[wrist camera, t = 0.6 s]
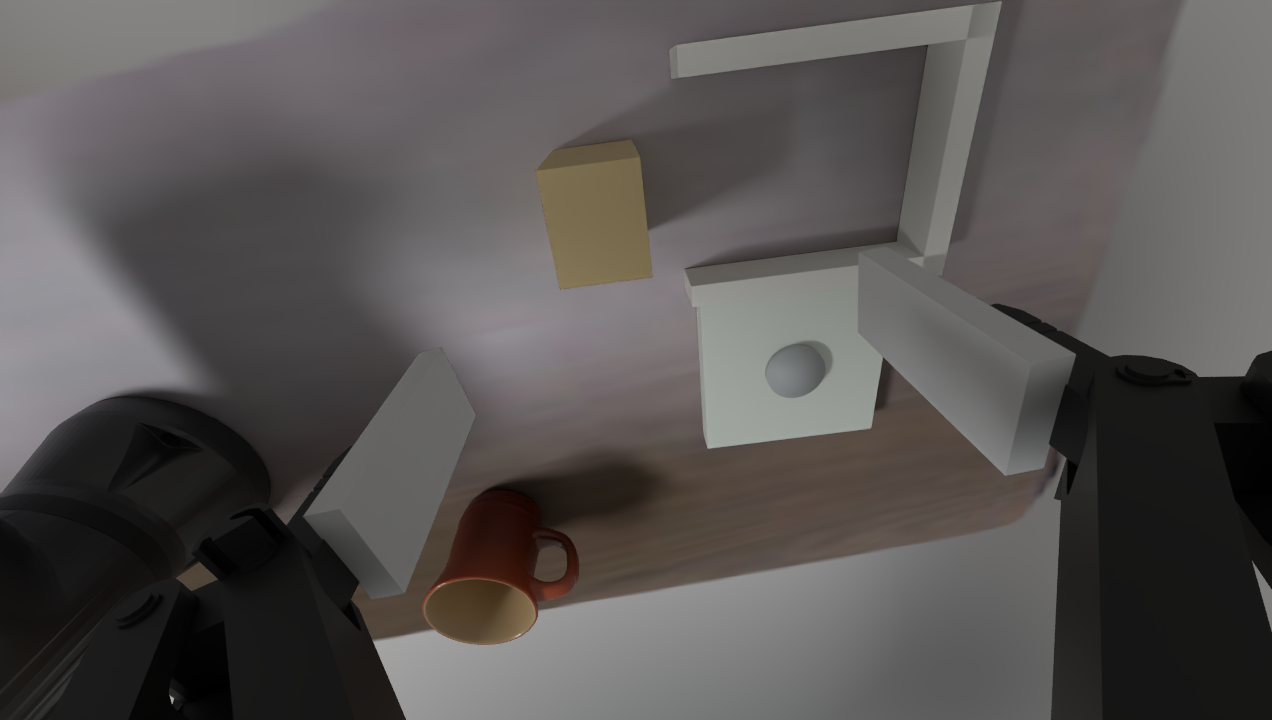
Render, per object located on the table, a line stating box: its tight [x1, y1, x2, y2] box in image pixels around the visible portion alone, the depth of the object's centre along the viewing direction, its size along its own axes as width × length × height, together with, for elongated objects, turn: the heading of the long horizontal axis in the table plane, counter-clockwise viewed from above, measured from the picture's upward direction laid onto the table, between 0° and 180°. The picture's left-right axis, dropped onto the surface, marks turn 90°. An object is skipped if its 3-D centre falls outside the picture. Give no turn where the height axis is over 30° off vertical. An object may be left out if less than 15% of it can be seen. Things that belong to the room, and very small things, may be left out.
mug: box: [422, 490, 579, 645], centre depth 41 cm, size 12×9×10 cm
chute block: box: [535, 139, 652, 289], centre depth 28 cm, size 5×6×9 cm
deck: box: [669, 1, 1002, 449], centre depth 33 cm, size 17×29×4 cm, turn 7°
